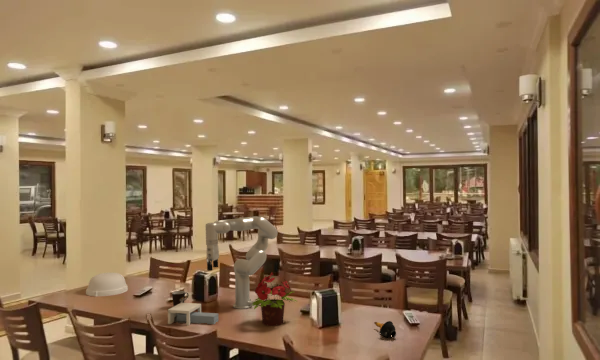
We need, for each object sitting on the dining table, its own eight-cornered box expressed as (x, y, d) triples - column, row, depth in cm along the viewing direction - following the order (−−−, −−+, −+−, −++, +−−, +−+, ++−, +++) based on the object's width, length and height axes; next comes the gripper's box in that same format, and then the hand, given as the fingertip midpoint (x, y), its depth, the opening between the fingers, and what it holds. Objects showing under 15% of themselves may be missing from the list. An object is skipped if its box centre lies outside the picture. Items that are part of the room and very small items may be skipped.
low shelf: (201, 317, 269) (201, 303, 269) (188, 325, 254) (188, 311, 254) (181, 315, 272) (181, 302, 272) (167, 323, 257) (167, 309, 257)
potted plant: (267, 314, 275) (267, 266, 276) (304, 320, 262) (304, 270, 262) (237, 327, 250) (237, 274, 250) (277, 335, 236) (276, 279, 237)
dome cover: (100, 286, 355) (100, 269, 356) (135, 287, 352) (135, 269, 352) (76, 296, 324) (76, 277, 324) (114, 297, 320) (114, 278, 320)
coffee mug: (173, 310, 286) (173, 294, 286) (170, 306, 293) (170, 291, 293) (191, 307, 291) (191, 292, 291) (188, 304, 299) (188, 289, 299)
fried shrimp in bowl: (386, 332, 225) (364, 313, 240) (388, 347, 230) (366, 328, 245) (399, 323, 229) (377, 305, 243) (401, 338, 234) (379, 320, 248)
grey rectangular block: (218, 321, 262) (218, 313, 262) (214, 324, 255) (213, 316, 255) (181, 318, 267) (181, 311, 267) (176, 321, 261) (176, 314, 261)
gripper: (212, 244, 269) (213, 271, 269) (222, 240, 286) (223, 266, 286) (200, 244, 271) (201, 271, 271) (211, 240, 288) (212, 266, 288)
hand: (212, 268), depth 279 cm, fingers open, 9 cm apart
